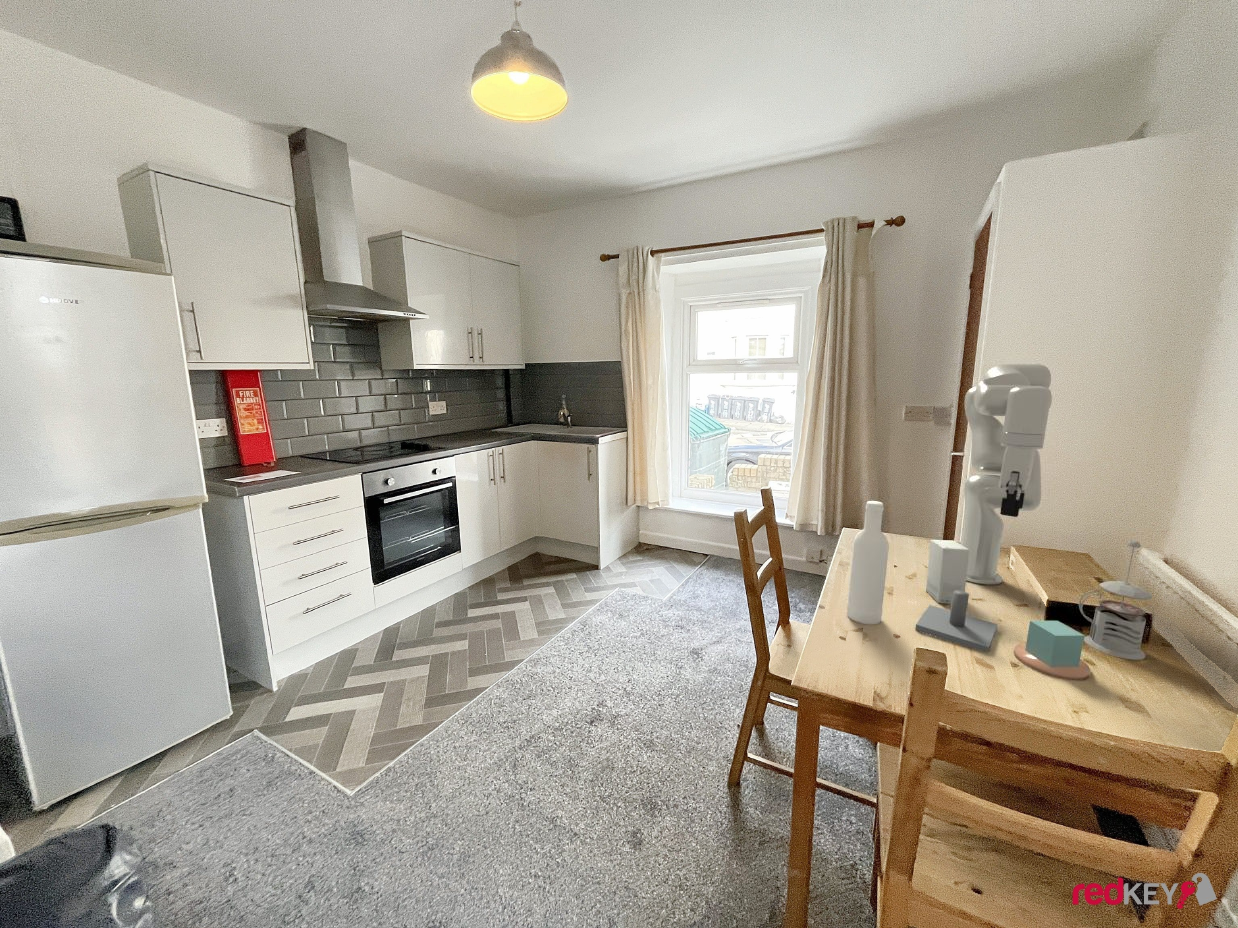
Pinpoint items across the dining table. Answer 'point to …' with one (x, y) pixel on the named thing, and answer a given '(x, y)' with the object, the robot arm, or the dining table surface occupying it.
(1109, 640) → the french press
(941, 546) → the skincare box
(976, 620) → the post board
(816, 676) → the dining table surface
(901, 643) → the dining table surface
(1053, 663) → the block
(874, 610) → the bottle
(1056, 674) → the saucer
